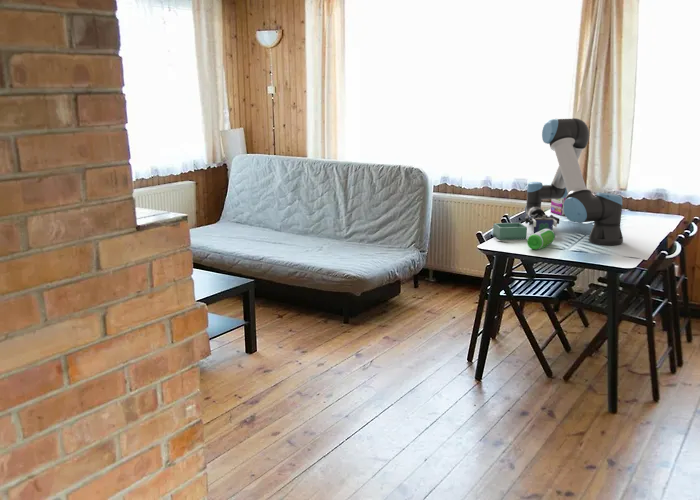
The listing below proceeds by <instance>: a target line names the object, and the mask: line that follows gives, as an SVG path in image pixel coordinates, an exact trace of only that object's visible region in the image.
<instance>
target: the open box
mask: <svg viewBox="0 0 700 500" xmlns="http://www.w3.org/2000/svg"><path fill="white" fill-rule="evenodd" d="M492 228H493V229H492V236H494V237H495V238H496V239H497V240H499V241H509V240H510V241H512V240H513V241H514V240H515V241H516V240H527V234H528V233H527V231H528V227H527V226H526V225H524V224H522V223H521V222H499V223H497V222H496V223H493V226H492Z"/></svg>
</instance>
